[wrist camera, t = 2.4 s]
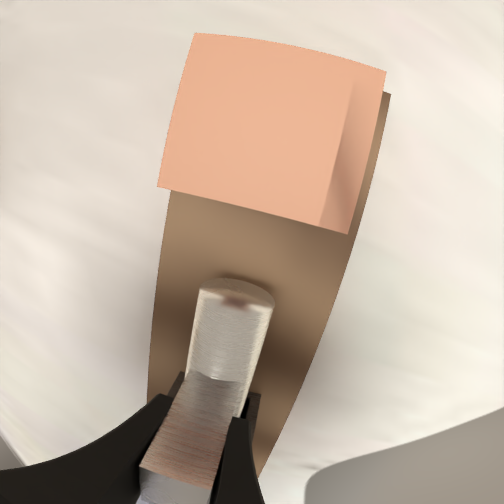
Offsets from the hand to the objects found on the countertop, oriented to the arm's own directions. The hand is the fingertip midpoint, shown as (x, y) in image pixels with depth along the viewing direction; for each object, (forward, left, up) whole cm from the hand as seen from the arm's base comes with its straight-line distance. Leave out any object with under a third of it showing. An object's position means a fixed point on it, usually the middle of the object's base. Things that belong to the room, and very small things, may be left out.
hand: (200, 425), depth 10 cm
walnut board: (0, 0, -6) cm, 6 cm away
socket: (+7, +7, -5) cm, 11 cm away
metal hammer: (-2, -2, -4) cm, 5 cm away
